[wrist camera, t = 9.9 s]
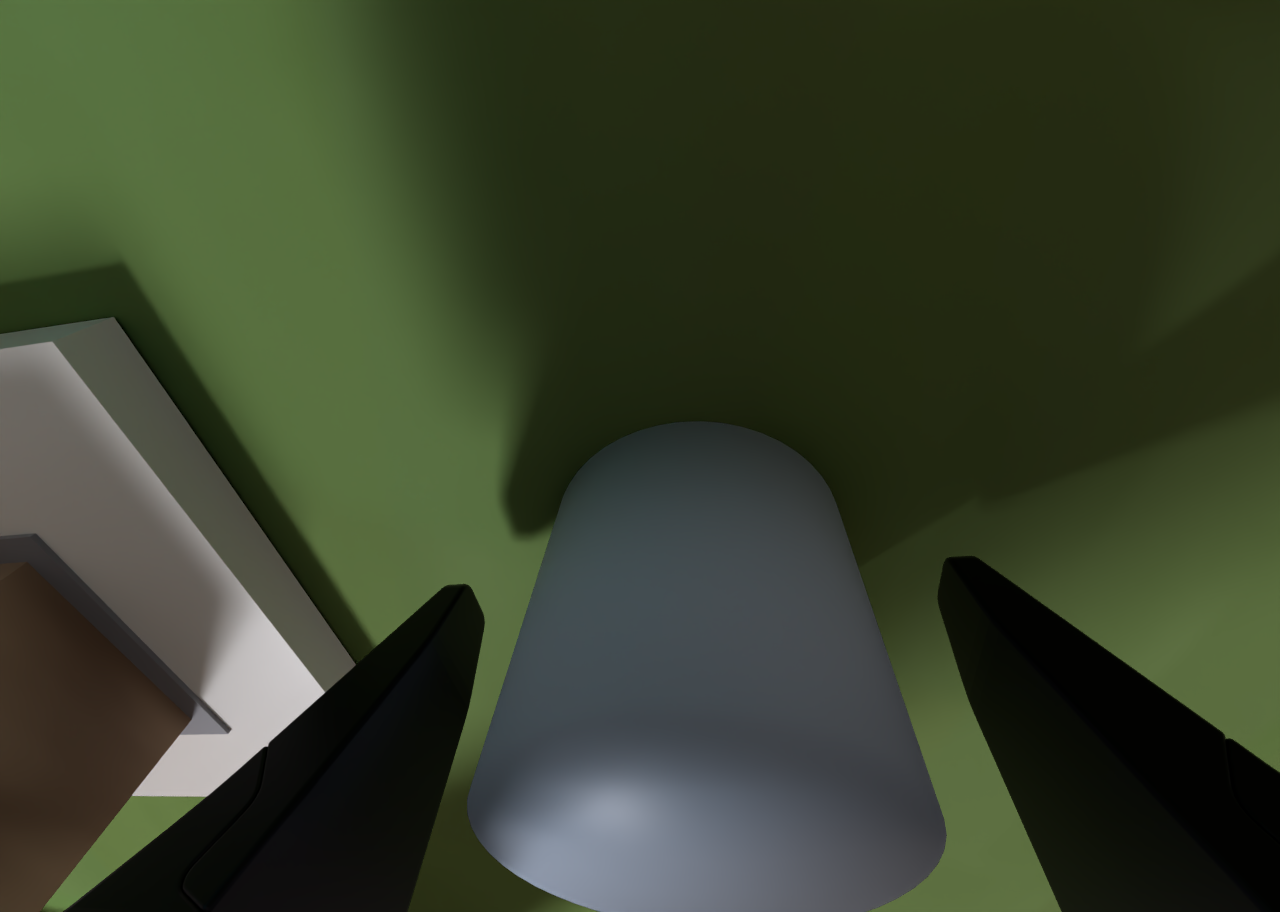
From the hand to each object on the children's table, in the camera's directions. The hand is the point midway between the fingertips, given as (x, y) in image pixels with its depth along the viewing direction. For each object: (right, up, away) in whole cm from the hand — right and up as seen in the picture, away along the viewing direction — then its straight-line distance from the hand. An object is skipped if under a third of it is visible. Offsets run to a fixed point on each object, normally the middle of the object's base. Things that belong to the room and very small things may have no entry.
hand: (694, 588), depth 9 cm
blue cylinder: (0, +1, +1) cm, 1 cm away
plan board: (-14, -2, +4) cm, 15 cm away
